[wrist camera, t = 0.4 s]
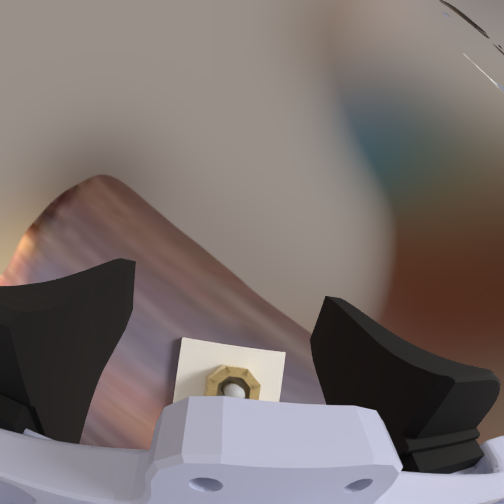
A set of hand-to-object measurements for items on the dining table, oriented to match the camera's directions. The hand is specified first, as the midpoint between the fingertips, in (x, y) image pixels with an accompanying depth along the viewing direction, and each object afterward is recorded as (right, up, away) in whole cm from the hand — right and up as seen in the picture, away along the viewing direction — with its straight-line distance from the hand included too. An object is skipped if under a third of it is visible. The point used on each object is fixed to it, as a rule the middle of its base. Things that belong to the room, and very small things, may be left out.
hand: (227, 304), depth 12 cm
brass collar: (-2, -13, +22) cm, 26 cm away
